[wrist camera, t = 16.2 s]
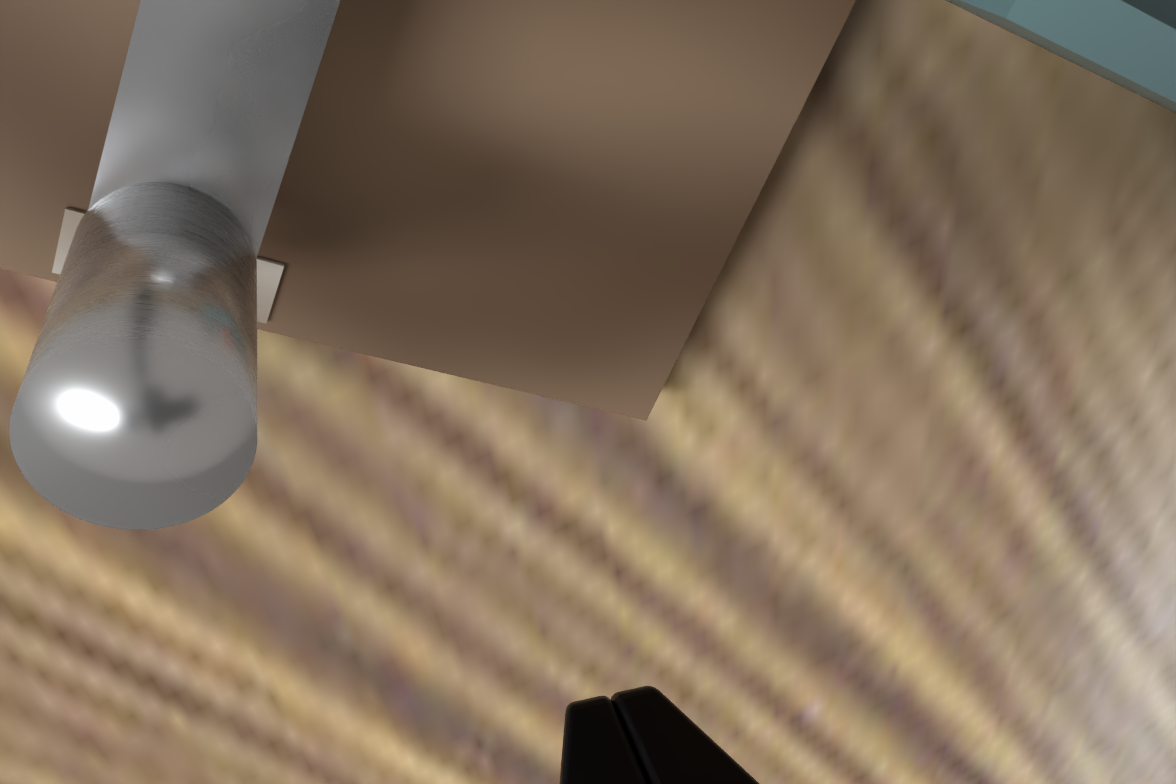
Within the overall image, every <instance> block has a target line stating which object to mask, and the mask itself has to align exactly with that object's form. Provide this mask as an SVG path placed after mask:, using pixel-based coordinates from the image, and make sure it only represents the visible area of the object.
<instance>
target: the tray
mask: <svg viewBox="0 0 1176 784" xmlns="http://www.w3.org/2000/svg"><path fill="white" fill-rule="evenodd" d="M946 1H948V2H950V3H953V4H955V5H957V6H959V7H961V8H963V9H965V10H967V11H969V12H971V13H973V14H975V15H977V16H979V17H981V18H983V19H985V20H987V21H989V22H991V23H993V24H996V25H998V26H1000V27H1002V28H1004V29H1006V30H1008V31H1010V32H1012V33H1014V34H1016V35H1018V36H1020V37H1022V38H1024V39H1026V40H1028V41H1030V42H1032V43H1034V44H1036V45H1039V46H1041V47H1043V48H1045V49H1047V50H1049V51H1051V52H1053V53H1055V54H1057V55H1059V56H1061V57H1063V58H1065V59H1067V60H1069V61H1071V62H1073V63H1075V64H1077V65H1079V66H1082V67H1084V68H1086V69H1088V70H1090V71H1092V72H1094V73H1096V74H1098V75H1100V76H1102V77H1104V78H1106V79H1108V80H1110V81H1112V82H1114V83H1116V84H1118V85H1120V86H1122V87H1125V88H1127V89H1129V90H1131V91H1133V92H1135V93H1137V94H1139V95H1141V96H1143V97H1145V98H1147V99H1149V100H1151V101H1153V102H1155V103H1157V104H1159V105H1161V106H1163V107H1165V108H1168V109H1170V110H1172V111H1174V112H1176V0H946Z"/></svg>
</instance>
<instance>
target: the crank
mask: <svg viewBox="0 0 1176 784" xmlns="http://www.w3.org/2000/svg"><path fill="white" fill-rule="evenodd" d="M339 3H340V0H140V4H139V8H138V12H137V16H136V20H135V24H134V28H133V32H132V36H131V40H130V44H129V48H128V52H127V56H126V60H125V64H124V68H123V72H122V76H121V80H120V84H119V88H118V92H117V96H116V100H115V104H114V108H113V112H112V116H111V120H110V124H109V128H108V132H107V136H106V140H105V144H104V148H103V152H102V156H101V160H100V164H99V168H98V172H97V176H96V180H95V184H94V188H93V192H92V196H91V200H90V204H89V208H88V211H87V212H86V213H85V215H84V216H83V217H82V219H81V221H80V223H79V224H78V226H77V229H76V231H75V234H74V237H73V240H72V243H71V245H70V248H69V251H68V254H67V257H66V260H65V262H64V265H63V268H62V271H61V274H60V277H59V279H58V282H57V285H56V288H55V291H54V294H53V296H52V299H51V302H50V305H49V308H48V310H47V313H46V316H45V319H44V322H43V325H42V327H41V330H40V333H39V336H38V339H37V342H36V344H35V347H34V350H33V353H32V356H31V359H30V361H29V364H28V367H27V370H26V373H25V375H24V378H23V381H22V384H21V387H20V390H19V392H18V395H17V398H16V401H15V404H14V407H13V410H12V413H11V419H10V426H9V428H10V442H11V447H12V452H13V455H14V457H15V460H16V463H17V465H18V467H19V468H20V470H21V472H22V474H23V475H24V477H25V478H26V479H27V481H28V482H29V483H30V484H31V486H32V487H33V488H34V489H35V490H36V491H37V492H38V493H39V494H40V495H41V496H42V497H44V498H45V499H46V500H48V501H49V502H50V503H52V504H53V505H54V506H56V507H57V508H59V509H61V510H63V511H64V512H66V513H68V514H70V515H72V516H75V517H77V518H79V519H81V520H84V521H87V522H90V523H93V524H97V525H101V526H106V527H110V528H118V529H128V530H146V529H158V528H164V527H170V526H174V525H178V524H181V523H185V522H188V521H190V520H193V519H195V518H198V517H200V516H202V515H204V514H206V513H208V512H210V511H212V510H213V509H215V508H216V507H217V506H219V505H220V504H222V503H223V502H224V501H225V500H227V499H228V498H229V497H230V496H231V495H232V494H233V493H234V492H235V491H236V490H237V489H238V487H239V486H240V485H241V484H242V482H243V481H244V479H245V478H246V476H247V474H248V472H249V470H250V468H251V466H252V464H253V460H254V457H255V453H256V446H257V260H256V258H257V255H258V252H259V249H260V246H261V243H262V240H263V236H264V233H265V230H266V227H267V224H268V221H269V218H270V215H271V212H272V209H273V206H274V203H275V200H276V197H277V194H278V190H279V187H280V184H281V181H282V178H283V175H284V172H285V169H286V166H287V163H288V160H289V157H290V154H291V151H292V147H293V144H294V141H295V138H296V135H297V132H298V129H299V126H300V123H301V120H302V117H303V114H304V111H305V108H306V105H307V101H308V98H309V95H310V92H311V89H312V86H313V83H314V80H315V77H316V74H317V71H318V68H319V65H320V62H321V58H322V55H323V52H324V49H325V46H326V43H327V40H328V37H329V34H330V31H331V28H332V25H333V22H334V19H335V15H336V12H337V9H338V6H339Z"/></svg>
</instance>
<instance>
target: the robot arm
mask: <svg viewBox="0 0 1176 784" xmlns="http://www.w3.org/2000/svg"><path fill="white" fill-rule="evenodd" d="M560 784H759V783H758V782H757V781H756V780H755V779H754V778H753V777H752V776H750V775H749V774H748V773H747V772H746V771H745V770H744V769H743V768H742V767H741V766H740V765H739V764H738V763H736V762H735V761H734V760H733V759H732V758H731V757H730V756H729V755H728V754H727V753H726V752H725V751H724V750H723V749H721V748H720V747H719V746H718V745H717V744H716V743H715V742H714V741H713V740H712V739H711V738H710V737H709V736H707V735H706V734H705V733H704V732H703V731H702V730H701V729H700V728H699V727H698V726H697V725H696V724H695V723H693V722H692V721H691V720H690V719H689V718H688V717H687V716H686V715H685V714H684V713H683V712H682V711H681V710H679V709H678V708H677V707H676V706H675V705H674V704H673V703H672V702H671V701H670V700H669V699H668V698H667V697H666V696H664V695H663V694H662V693H661V692H660V691H659V690H658V689H656V688H654V687H651V686H644V687H639V688H635V689H630V690H626V691H621V692H617V693H615V694H614V695H613V696H612V697H611V700H610V699H609V698H608V697H606V696H598V697H594V698H589V699H585V700H580V701H575V702H572V703H570V704H569V705H568V706H567V708H566V713H565V724H564V736H563V749H562V761H561V773H560Z"/></svg>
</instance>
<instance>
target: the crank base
mask: <svg viewBox="0 0 1176 784" xmlns="http://www.w3.org/2000/svg"><path fill="white" fill-rule="evenodd" d="M855 2H856V0H340V3H339V6H338V9H337V12H336V15H335V19H334V22H333V25H332V28H331V31H330V34H329V37H328V40H327V43H326V46H325V49H324V52H323V55H322V58H321V62H320V65H319V68H318V71H317V74H316V77H315V80H314V83H313V86H312V89H311V92H310V95H309V98H308V101H307V105H306V108H305V111H304V114H303V117H302V120H301V123H300V126H299V129H298V132H297V135H296V138H295V141H294V144H293V147H292V151H291V154H290V157H289V160H288V163H287V166H286V169H285V172H284V175H283V178H282V181H281V184H280V187H279V190H278V194H277V197H276V200H275V203H274V206H273V209H272V212H271V215H270V218H269V221H268V224H267V227H266V230H265V233H264V236H263V240H262V243H261V246H260V249H259V252H258V255H257V258H256V260H257V329H260V330H264V331H268V332H272V333H277V334H281V335H285V336H289V337H293V338H298V339H302V340H306V341H310V342H315V343H319V344H323V345H327V346H332V347H336V348H340V349H344V350H349V351H353V352H357V353H361V354H366V355H370V356H374V357H378V358H383V359H387V360H391V361H395V362H400V363H404V364H408V365H412V366H417V367H421V368H425V369H429V370H434V371H438V372H442V373H446V374H451V375H455V376H459V377H463V378H468V379H472V380H476V381H480V382H485V383H489V384H493V385H497V386H502V387H506V388H510V389H514V390H519V391H523V392H527V393H531V394H536V395H540V396H544V397H548V398H553V399H557V400H561V401H565V402H570V403H574V404H578V405H582V406H587V407H591V408H595V409H599V410H604V411H608V412H612V413H616V414H621V415H625V416H629V417H633V418H638V419H642V420H647V418H648V416H649V414H650V412H651V410H652V408H653V406H654V404H655V402H656V400H657V398H658V396H659V394H660V392H661V390H662V388H663V386H664V384H665V382H666V380H667V378H668V376H669V374H670V372H671V370H672V368H673V366H674V364H675V362H676V360H677V358H678V356H679V354H680V352H681V350H682V348H683V346H684V344H685V342H686V340H687V338H688V336H689V334H690V332H691V330H692V328H693V326H694V324H695V322H696V320H697V318H698V316H699V314H700V312H701V310H702V308H703V306H704V304H705V302H706V300H707V298H708V296H709V294H710V292H711V290H712V288H713V286H714V284H715V282H716V280H717V278H718V276H719V274H720V272H721V270H722V268H723V266H724V264H725V262H726V260H727V258H728V256H729V254H730V252H731V250H732V248H733V246H734V244H735V242H736V240H737V238H738V236H739V234H740V232H741V230H742V228H743V226H744V224H745V222H746V220H747V218H748V216H749V214H750V212H751V210H752V208H753V206H754V204H755V202H756V200H757V198H758V196H759V194H760V192H761V190H762V188H763V186H764V184H765V182H766V180H767V178H768V176H769V174H770V172H771V170H772V168H773V166H774V164H775V162H776V160H777V158H778V156H779V154H780V152H781V150H782V148H783V146H784V144H785V142H786V140H787V138H788V136H789V134H790V132H791V130H792V128H793V126H794V124H795V122H796V120H797V118H798V116H799V114H800V112H801V110H802V108H803V106H804V104H805V102H806V100H807V98H808V96H809V94H810V92H811V90H812V88H813V86H814V84H815V82H816V80H817V78H818V76H819V74H820V72H821V70H822V68H823V66H824V64H825V62H826V60H827V58H828V56H829V54H830V52H831V50H832V48H833V46H834V44H835V42H836V40H837V38H838V36H839V34H840V32H841V30H842V28H843V26H844V24H845V22H846V20H847V18H848V16H849V14H850V12H851V10H852V8H853V6H854V4H855ZM139 4H140V0H0V269H5V270H9V271H13V272H17V273H22V274H26V275H30V276H34V277H39V278H43V279H47V280H51V281H56V282H58V279H59V277H60V274H61V271H62V268H63V265H64V262H65V260H66V257H67V254H68V251H69V248H70V245H71V243H72V240H73V237H74V234H75V231H76V229H77V226H78V224H79V223H80V221H81V219H82V217H83V216H84V215H85V213H86V212H87V211H88V208H89V204H90V200H91V196H92V192H93V188H94V184H95V180H96V176H97V172H98V168H99V164H100V160H101V156H102V152H103V148H104V144H105V140H106V136H107V132H108V128H109V124H110V120H111V116H112V112H113V108H114V104H115V100H116V96H117V92H118V88H119V84H120V80H121V76H122V72H123V68H124V64H125V60H126V56H127V52H128V48H129V44H130V40H131V36H132V32H133V28H134V24H135V20H136V16H137V12H138V8H139Z"/></svg>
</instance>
